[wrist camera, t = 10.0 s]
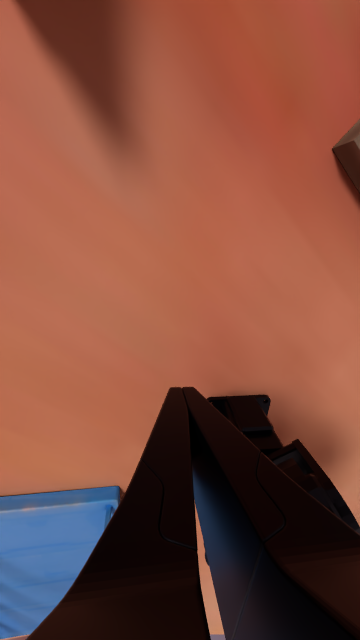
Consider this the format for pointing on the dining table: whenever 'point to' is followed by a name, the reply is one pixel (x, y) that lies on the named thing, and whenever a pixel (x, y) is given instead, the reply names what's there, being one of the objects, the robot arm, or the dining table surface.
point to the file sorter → (46, 550)
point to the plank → (350, 153)
